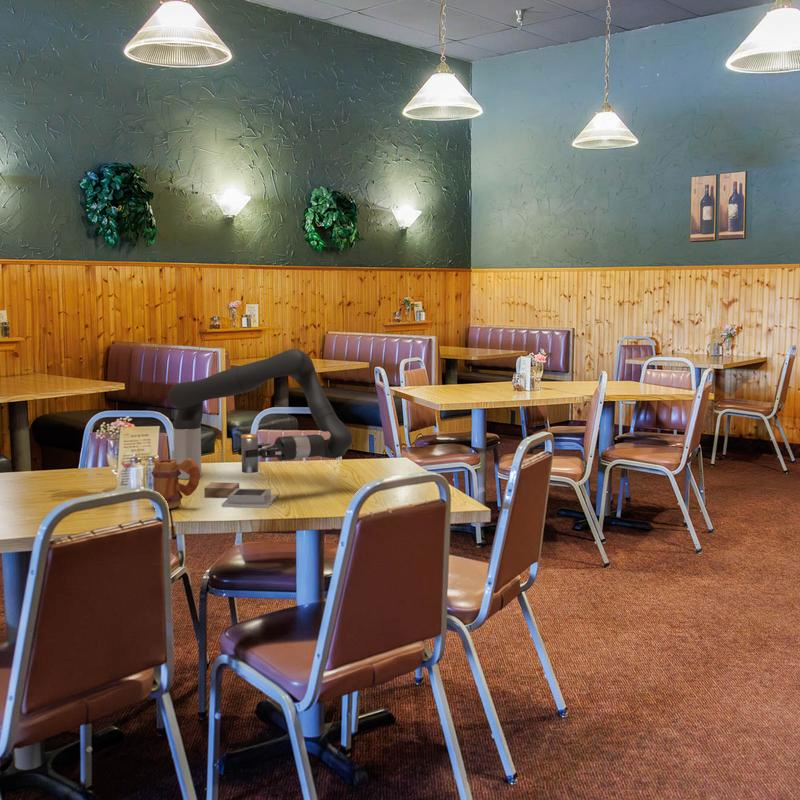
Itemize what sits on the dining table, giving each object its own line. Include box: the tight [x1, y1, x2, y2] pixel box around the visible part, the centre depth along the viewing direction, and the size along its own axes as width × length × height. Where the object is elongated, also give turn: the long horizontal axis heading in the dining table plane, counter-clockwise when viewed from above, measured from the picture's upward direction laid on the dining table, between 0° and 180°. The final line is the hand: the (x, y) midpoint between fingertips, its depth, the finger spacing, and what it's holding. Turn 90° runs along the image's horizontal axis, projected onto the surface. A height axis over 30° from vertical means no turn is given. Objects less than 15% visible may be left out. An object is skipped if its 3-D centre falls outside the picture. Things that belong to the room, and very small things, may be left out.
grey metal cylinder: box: [240, 433, 259, 474], centre depth 273 cm, size 5×5×11 cm
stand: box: [203, 481, 240, 499], centre depth 285 cm, size 9×9×3 cm
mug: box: [150, 458, 201, 510], centre depth 265 cm, size 15×8×15 cm, turn 82°
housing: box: [221, 488, 278, 509], centre depth 275 cm, size 14×14×3 cm
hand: (241, 452), depth 272 cm, fingers closed on grey metal cylinder, 5 cm apart
